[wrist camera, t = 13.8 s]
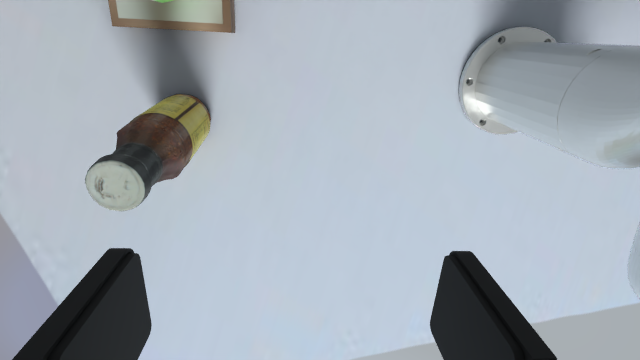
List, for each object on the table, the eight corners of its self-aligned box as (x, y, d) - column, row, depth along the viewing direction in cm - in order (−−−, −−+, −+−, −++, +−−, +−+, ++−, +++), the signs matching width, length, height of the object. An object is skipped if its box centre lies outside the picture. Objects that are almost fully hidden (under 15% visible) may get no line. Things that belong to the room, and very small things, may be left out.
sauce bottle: (150, 119, 42) (39, 185, 24) (180, 80, 41) (86, 119, 23) (195, 154, 44) (124, 239, 26) (226, 118, 43) (173, 181, 25)
